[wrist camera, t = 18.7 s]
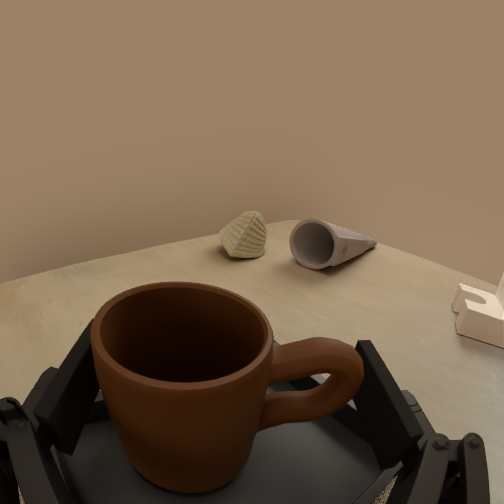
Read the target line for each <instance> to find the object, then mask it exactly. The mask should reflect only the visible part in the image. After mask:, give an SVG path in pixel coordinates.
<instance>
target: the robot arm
mask: <svg viewBox="0 0 504 504" xmlns="http://www.w3.org/2000/svg"><path fill="white" fill-rule="evenodd" d="M93 320H94V319H92V320H91V321H90V323H89V324H88V326H87V327H86V328H85V330H84V331H83V333H82V334H81V336H80V337H79V339H78V340H77V342H76V343H75V345H74V346H73V348H72V349H71V351H70V352H69V354H68V355H67V357H66V358H65V360H64V361H63V363H62V364H61V366H60V367H59V369H57V368H54V367H50V368H48V369H47V370H46V371H44V372H43V373H42V375H41V376H40V378H39V379H38V382H36V384H35V385H34V388H33V389H32V390H31V392H30V393H29V395H28V397H27V398H26V400H25V402H24V403H23V405H22V406H21V404H20V403H19V401H18V400H16V399H15V398H12V397H5V398H3V399H1V400H0V504H20V499H19V491H18V486H19V489H20V492H21V494H22V497H23V500H24V503H25V504H74V502H73V500H72V498H71V496H70V494H69V492H68V490H67V487H66V485H65V483H64V481H63V479H62V476H61V474H60V472H59V469H58V467H57V464H56V462H55V459H54V457H53V454H52V452H51V450H50V449H51V447H52V444H53V445H54V447H55V448H56V449H57V451H60V452H62V453H65V454H67V455H70V456H73V453H74V450H75V448H76V445H77V443H78V440H79V438H80V435H81V433H82V430H83V428H84V425H85V423H86V420H87V418H88V416H89V413H90V411H91V409H92V406H93V404H94V402H95V399H96V397H97V395H98V393H99V390H100V386H99V383H98V379H97V375H96V370H95V365H94V358H93V351H92V345H91V338H90V335H91V327H92V323H93ZM355 350H356V351H357V352H358V354H359V355H360V357H361V358H362V360H363V368H364V377H363V380H362V383H361V386H360V388H359V390H358V392H357V393H356V394H355V396H354V397H353V398H352V400H353V402H354V405H355V407H356V409H357V412H358V414H359V417H360V419H361V422H362V424H363V427H364V429H365V432H366V434H367V437H368V439H369V442H370V444H371V447H372V449H373V452H374V454H375V457H376V460H377V462H378V465H379V467H380V470H381V471H382V470H386V469H390V468H394V467H395V466H396V465H397V464H398V463H399V462H400V461H401V462H402V464H403V466H402V467H401V468H400V469H399V470H398V471H397V472H396V473H395V474H394V476H393V478H395V477H396V476H397V475H398V476H397V479H396V481H395V483H394V486H393V488H392V490H391V493H390V495H389V497H388V499H387V502H386V504H490V492H489V479H488V469H487V461H486V454H485V448H484V442H483V440H482V438H481V437H480V436H479V435H478V434H476V433H468V434H467V435H465V436H464V438H463V439H462V440H449V439H448V438H447V437H446V436H445V435H443V434H440V433H436V432H435V431H434V429H433V428H432V426H431V424H430V422H429V421H428V419H427V417H426V416H425V414H424V412H423V411H422V409H421V407H420V405H418V402H417V400H416V399H415V397H414V396H413V395H412V394H411V393H410V392H409V391H407V390H403V391H401V390H400V389H399V387H398V385H397V383H396V382H395V380H394V378H393V377H392V375H391V373H390V372H389V370H388V368H387V367H386V365H385V363H384V362H383V360H382V358H381V357H380V355H379V354H378V352H377V350H376V349H375V347H374V345H373V344H372V342H371V341H370V340H358V342H357V344H356V347H355ZM459 473H460V475H459Z"/></svg>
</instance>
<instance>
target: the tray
mask: <svg viewBox="0 0 504 504" xmlns="http://www.w3.org/2000/svg"><path fill="white" fill-rule="evenodd" d="M278 345H280V344H279V343H277V342H276V341H275V340H274V342H273V346H278ZM326 380H327V379H325V378H324V377H323V376H321V375H320V374H316V375H312V376H308V377H304V378H299V379H295V380H290V381H285V382H280V383H276V384H273V385H270V386H269V387H268V388H267V391H266V395H267V394H270V393H275V392H282V391H305V390H310V389H313V388H315V387H317V386H319V385H321V384H322V383H323V382H325V381H326ZM50 450H51V452H52V454H53V457H54V459H55V462H56V464H57V467H58V469H59V472H60V474H61V476H62V479H63V481H64V483H65V485H66V487H67V490H68V492H69V494H70V496H71V498H72V500H73V502H74V504H371V503H372V502H373V501H374V500H375V499H376V498H377V497H378V496H379V495H380V493H381V492H382V491H383V490H384V489H385V488H386V486H387V485H388V484H389V483H390V482H391V481H392V479H393V476H394V474H395V473H396V472H397V471H398V470H399V469H400V468H401V467H402V466H403V464H402V462H401V461H400V462H399V463H398V464H397V465H396V466H395V467H394V468H390V469H386V470H382V471H381V470H380V467H379V465H378V462H377V460H376V457H375V454H374V452H373V449H372V447H371V444H370V442H369V439H368V437H367V434H366V432H365V429H364V427H363V424H362V422H361V419H360V417H359V414H358V412H357V409H356V407H355V405H354V402H353V400H352V399H351V400H350V401H349V402H348V403H347V404H346V405H345V406H344V407H342V408H341V409H339V410H338V411H336V412H335V413H333V414H331V415H329V416H326V417H324V418H321V419H318V420H314V421H309V422H301V423H285V424H282V425H279V426H276V427H271V428H268V429H265V430H262V431H260V432H258V433H256V435H255V438H254V442H253V446H252V450H251V453H250V456H249V459H248V461H247V463H246V465H245V467H244V468H243V469H242V471H241V472H240V473H239V474H238V475H237V476H236V477H235V478H234V479H233V480H232V481H230V482H229V483H228V484H226V485H224V486H222V487H220V488H217V489H215V490H212V491H208V492H204V493H179V492H174V491H170V490H167V489H164V488H161V487H159V486H157V485H155V484H153V483H152V482H150V481H149V480H147V479H146V478H145V477H143V476H142V475H141V474H140V473H139V472H138V471H137V470H136V469H135V468H134V466H133V465H132V464H131V462H130V461H129V459H128V457H127V455H126V453H125V451H124V449H123V447H122V445H121V442H120V440H119V438H118V435H117V433H116V431H115V429H114V426H113V424H112V421H111V418H110V416H109V413H108V410H107V407H106V404H105V402H104V399H103V396H102V393H101V391H99V393H98V395H97V397H96V399H95V402H94V404H93V406H92V409H91V411H90V413H89V416H88V418H87V420H86V423H85V425H84V428H83V430H82V433H81V435H80V438H79V440H78V443H77V445H76V448H75V450H74V453H73V456H70V455H67V454H65V453H62V452H60V451H57V449H56V448H55V447H54V445H53V444H52V447H51V449H50Z"/></svg>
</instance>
